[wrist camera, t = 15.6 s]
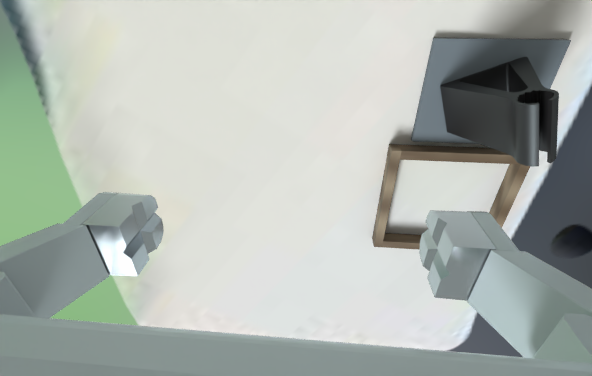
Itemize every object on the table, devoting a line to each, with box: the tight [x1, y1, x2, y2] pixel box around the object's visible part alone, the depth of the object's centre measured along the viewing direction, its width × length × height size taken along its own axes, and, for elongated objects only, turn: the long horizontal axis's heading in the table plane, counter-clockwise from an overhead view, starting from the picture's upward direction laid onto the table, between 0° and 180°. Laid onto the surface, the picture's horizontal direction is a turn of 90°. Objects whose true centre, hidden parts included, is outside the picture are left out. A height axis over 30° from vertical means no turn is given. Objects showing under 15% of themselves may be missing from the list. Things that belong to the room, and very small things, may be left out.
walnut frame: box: [372, 144, 530, 249], centre depth 44 cm, size 16×17×2 cm
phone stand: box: [440, 57, 559, 166], centre depth 31 cm, size 9×6×12 cm, turn 111°
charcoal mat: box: [411, 38, 571, 144], centre depth 36 cm, size 12×14×1 cm
